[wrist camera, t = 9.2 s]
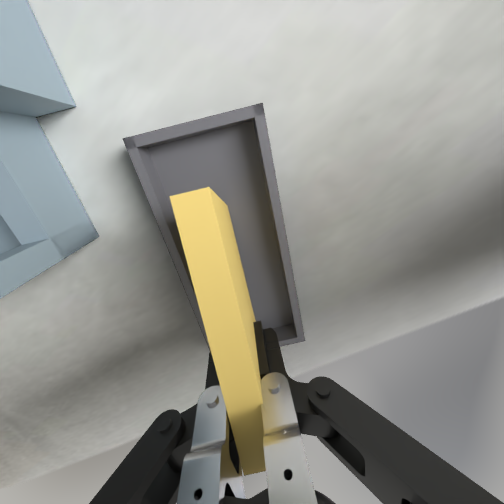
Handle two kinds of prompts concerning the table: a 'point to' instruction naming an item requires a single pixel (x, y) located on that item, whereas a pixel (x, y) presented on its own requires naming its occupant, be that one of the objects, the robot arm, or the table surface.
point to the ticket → (225, 315)
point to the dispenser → (32, 156)
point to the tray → (234, 196)
